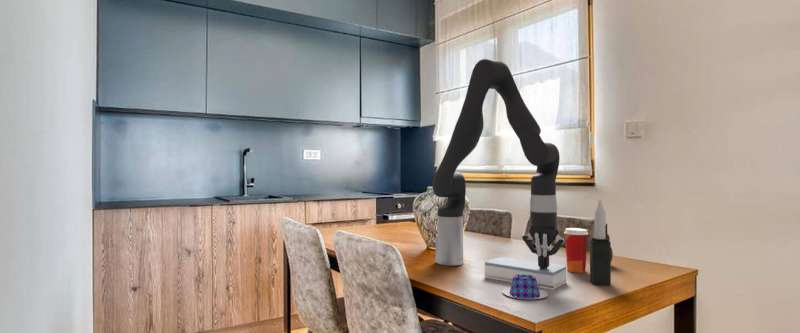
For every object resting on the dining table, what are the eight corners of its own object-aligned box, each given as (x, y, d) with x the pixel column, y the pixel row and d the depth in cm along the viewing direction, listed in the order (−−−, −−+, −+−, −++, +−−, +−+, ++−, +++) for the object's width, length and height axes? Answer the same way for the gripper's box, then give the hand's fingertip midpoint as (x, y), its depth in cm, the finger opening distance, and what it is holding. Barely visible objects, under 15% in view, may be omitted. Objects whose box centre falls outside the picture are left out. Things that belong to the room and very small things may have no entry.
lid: (484, 264, 141) (484, 262, 141) (500, 259, 148) (500, 257, 148) (552, 275, 126) (552, 272, 126) (566, 269, 134) (566, 266, 134)
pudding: (545, 290, 127) (545, 272, 127) (550, 303, 115) (550, 283, 115) (502, 288, 129) (501, 270, 129) (502, 300, 118) (502, 280, 118)
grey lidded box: (484, 277, 141) (484, 264, 141) (500, 271, 148) (500, 259, 148) (552, 289, 126) (552, 275, 126) (566, 282, 134) (566, 269, 134)
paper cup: (577, 267, 154) (577, 227, 154) (594, 272, 146) (593, 230, 146) (558, 269, 151) (558, 228, 151) (574, 274, 144) (574, 231, 144)
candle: (611, 285, 130) (611, 200, 130) (593, 285, 131) (592, 200, 131) (607, 281, 135) (606, 199, 135) (589, 280, 136) (589, 199, 136)
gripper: (516, 209, 133) (517, 267, 133) (560, 212, 124) (561, 274, 124) (527, 207, 138) (528, 263, 138) (570, 210, 130) (570, 269, 130)
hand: (543, 268), depth 131 cm, fingers closed
